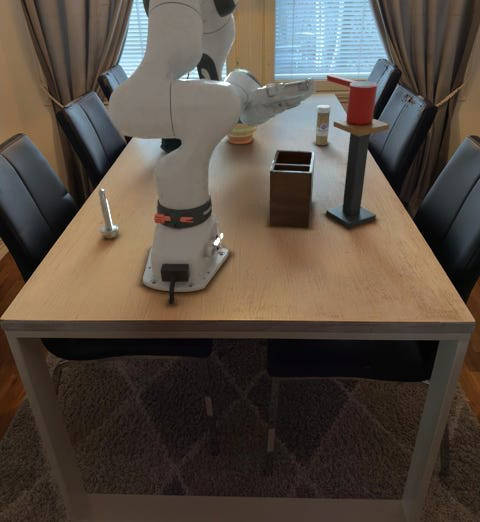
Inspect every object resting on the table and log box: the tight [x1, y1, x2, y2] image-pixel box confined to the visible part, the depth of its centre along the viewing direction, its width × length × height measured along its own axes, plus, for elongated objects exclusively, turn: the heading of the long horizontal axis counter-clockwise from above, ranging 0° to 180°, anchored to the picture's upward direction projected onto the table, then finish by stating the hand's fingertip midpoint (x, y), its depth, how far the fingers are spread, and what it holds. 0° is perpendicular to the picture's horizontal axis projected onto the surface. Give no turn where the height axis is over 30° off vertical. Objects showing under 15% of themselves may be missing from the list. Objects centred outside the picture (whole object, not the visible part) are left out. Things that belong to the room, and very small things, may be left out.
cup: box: [326, 73, 378, 126], centre depth 111 cm, size 15×6×9 cm, turn 30°
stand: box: [325, 118, 390, 230], centre depth 117 cm, size 9×9×25 cm
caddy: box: [269, 149, 316, 229], centre depth 122 cm, size 14×10×15 cm
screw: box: [98, 188, 120, 239], centre depth 115 cm, size 13×5×5 cm
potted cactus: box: [226, 67, 258, 145], centre depth 169 cm, size 15×15×25 cm
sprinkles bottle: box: [314, 104, 331, 146], centre depth 167 cm, size 5×5×14 cm
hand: (296, 83), depth 126 cm, fingers open, 8 cm apart
